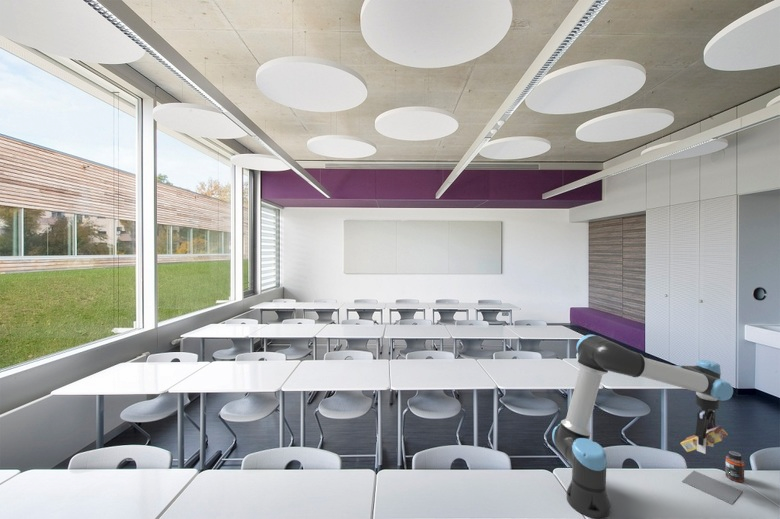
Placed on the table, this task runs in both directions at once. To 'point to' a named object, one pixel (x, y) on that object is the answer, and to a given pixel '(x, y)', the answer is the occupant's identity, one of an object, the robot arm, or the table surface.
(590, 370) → the robot arm
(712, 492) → the felt pad
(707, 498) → the table surface
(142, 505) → the table surface
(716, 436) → the candy box
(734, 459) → the supplement bottle
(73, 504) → the table surface
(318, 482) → the table surface
